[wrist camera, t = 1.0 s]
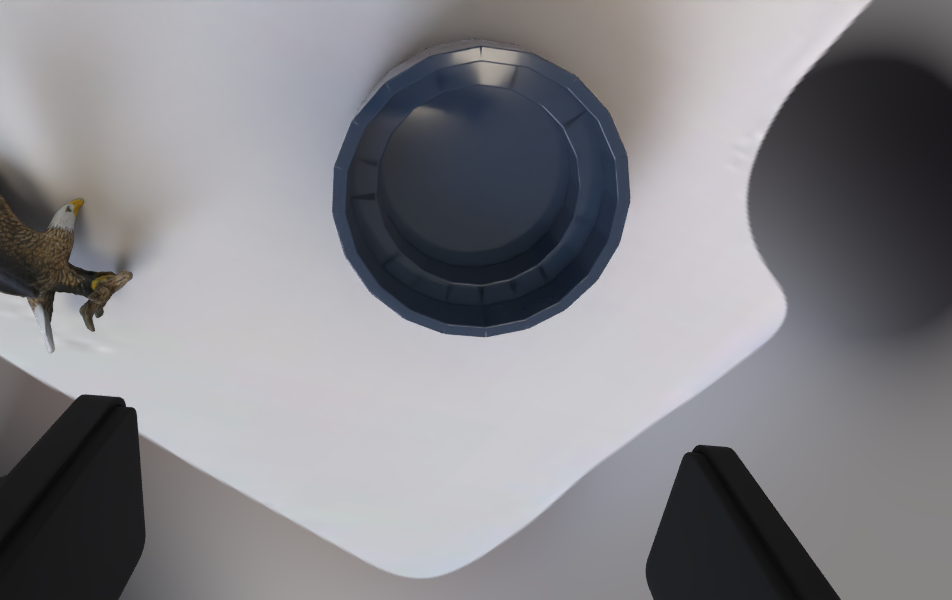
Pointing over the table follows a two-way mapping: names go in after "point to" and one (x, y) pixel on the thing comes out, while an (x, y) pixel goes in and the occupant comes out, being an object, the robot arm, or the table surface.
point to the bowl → (480, 189)
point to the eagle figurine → (50, 268)
